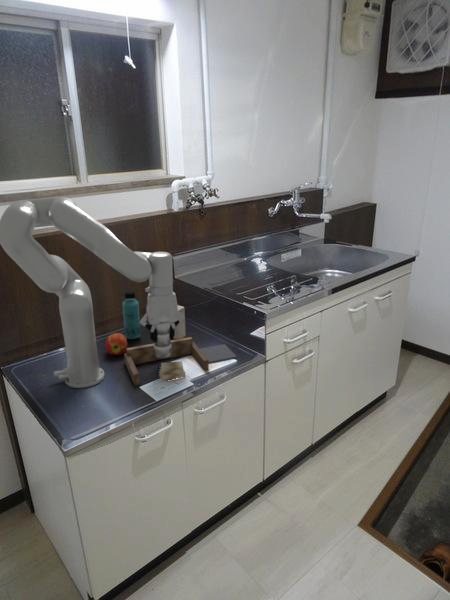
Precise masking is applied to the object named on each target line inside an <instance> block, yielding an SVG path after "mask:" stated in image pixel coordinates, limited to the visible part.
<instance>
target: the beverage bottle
mask: <svg viewBox="0 0 450 600" xmlns="http://www.w3.org/2000/svg"><path fill="white" fill-rule="evenodd" d="M124 298H125V300H123V302H122V303H121V304H122V317H123V318H122V320H123V321H122V322H123V331H124V333H123V335H124V336H125V337H126V339H127V340H135V339H138V338H140V337H141V324H140V320H141V319H140V307H139V306H140V305H139V304H140V303H139V301H138V300H137V299H136V292H135V291H134V290H127V291H125V292H124Z"/></svg>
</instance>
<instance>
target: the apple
mask: <svg viewBox="0 0 450 600" xmlns="http://www.w3.org/2000/svg"><path fill="white" fill-rule="evenodd" d="M124 335H125V334H123V333H119V332H114V333H112V334H111V333H110V335H108V336H107V338H106V339H105V344H104V347H105V348H104V349H105V350H106V352H107V353H108V354H109V355H112V356H120V355H122V354H125V352H126V348H128V341H127V340H128V338H126V337H125V336H124Z"/></svg>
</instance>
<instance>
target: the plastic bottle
mask: <svg viewBox="0 0 450 600" xmlns="http://www.w3.org/2000/svg"><path fill="white" fill-rule="evenodd" d="M168 322H169V319H168V317H165V316H163V317H161V318H160V320H159V323H160V324H159V325H155V332H156V342H155V343H154V342H153V344H154V349H153V350H154V354H155V356H156V357H158V358H165V359H168V358H167V357H169V356H170V355H171V354H172V345H171V339H170V326H171V323H168Z"/></svg>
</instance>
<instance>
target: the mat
mask: <svg viewBox="0 0 450 600" xmlns="http://www.w3.org/2000/svg"><path fill="white" fill-rule="evenodd" d="M199 349H200V350H201V351H202V353H203V354H204V355H205V356H206V358H207V359H208V360H209V364H213V363H219V362H222V361H228V360H233V359H237V355H236V354H235V353H234V352H233V351H232V350H231V349H230V348H229V347H228V346H227V344H224V343H223V344H217V345H214V346H213V345H211V346H209V347H202V348H199Z"/></svg>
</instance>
